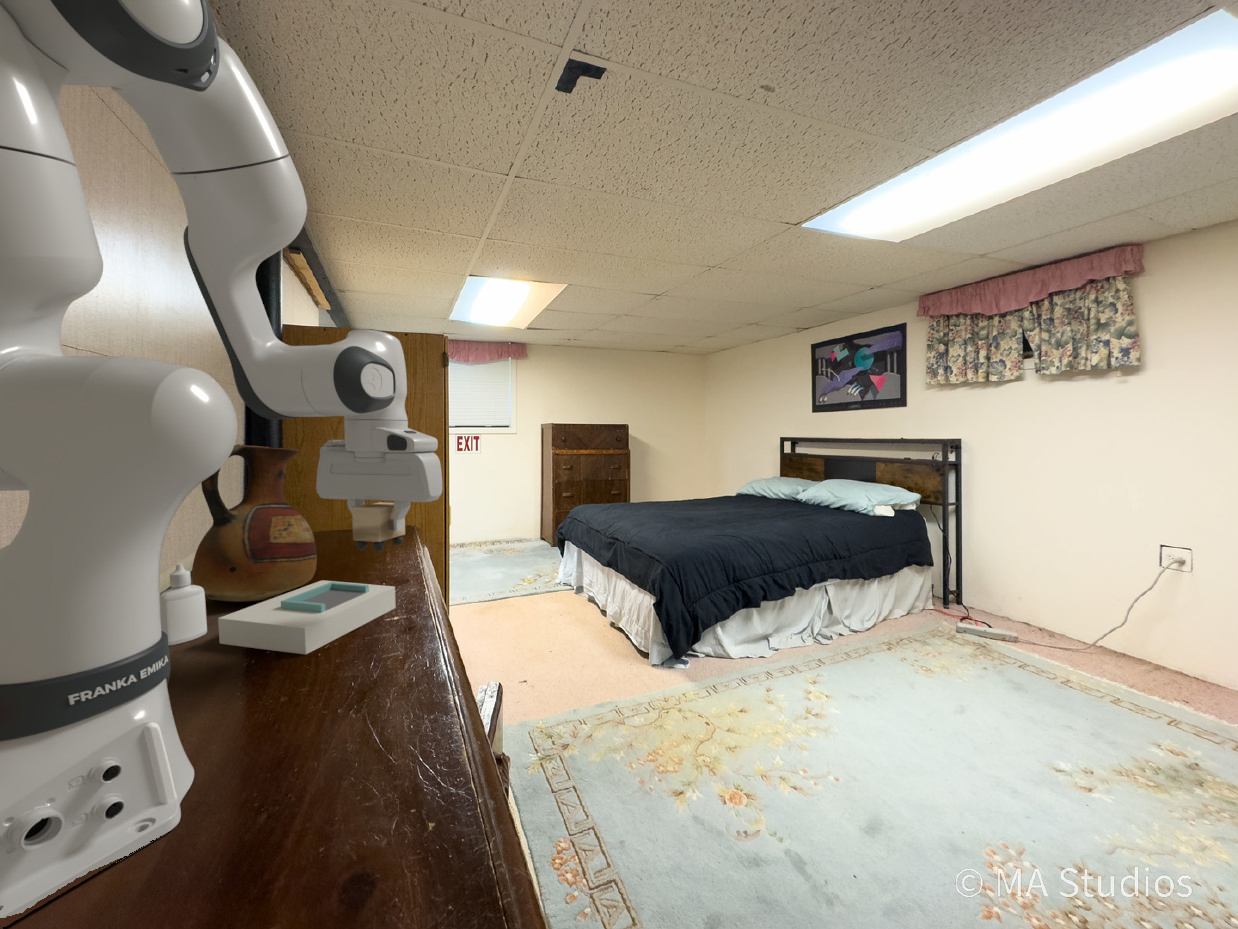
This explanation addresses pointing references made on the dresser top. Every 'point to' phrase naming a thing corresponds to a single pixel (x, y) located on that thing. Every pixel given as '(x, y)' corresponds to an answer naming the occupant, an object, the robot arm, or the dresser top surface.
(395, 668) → the dresser top surface
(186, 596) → the eye dropper bottle
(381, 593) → the dock
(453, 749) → the dresser top surface
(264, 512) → the ceramic pitcher
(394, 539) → the beige wheeled cart
